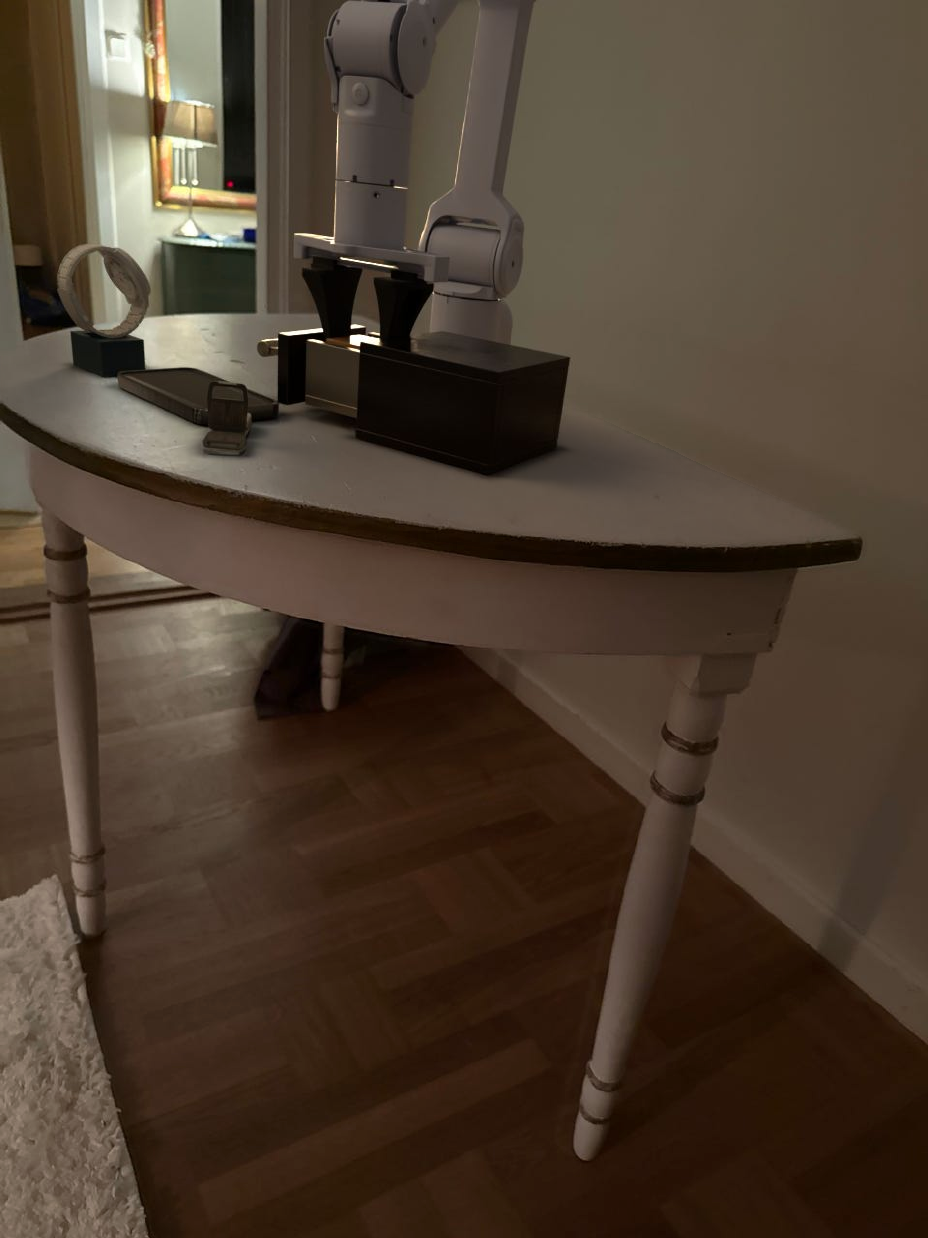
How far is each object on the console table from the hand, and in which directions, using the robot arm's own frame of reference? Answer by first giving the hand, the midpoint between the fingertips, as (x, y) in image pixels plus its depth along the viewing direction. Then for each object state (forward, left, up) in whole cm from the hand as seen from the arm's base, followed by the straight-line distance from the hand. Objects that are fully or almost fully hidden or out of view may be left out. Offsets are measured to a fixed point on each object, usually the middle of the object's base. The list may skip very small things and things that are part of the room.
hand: (363, 360), depth 75 cm
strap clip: (+14, -2, -5) cm, 15 cm away
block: (0, 0, -3) cm, 3 cm away
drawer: (0, -1, -4) cm, 4 cm away
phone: (+8, -12, -5) cm, 15 cm away
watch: (+6, -26, -5) cm, 27 cm away
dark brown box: (0, +10, -5) cm, 11 cm away
